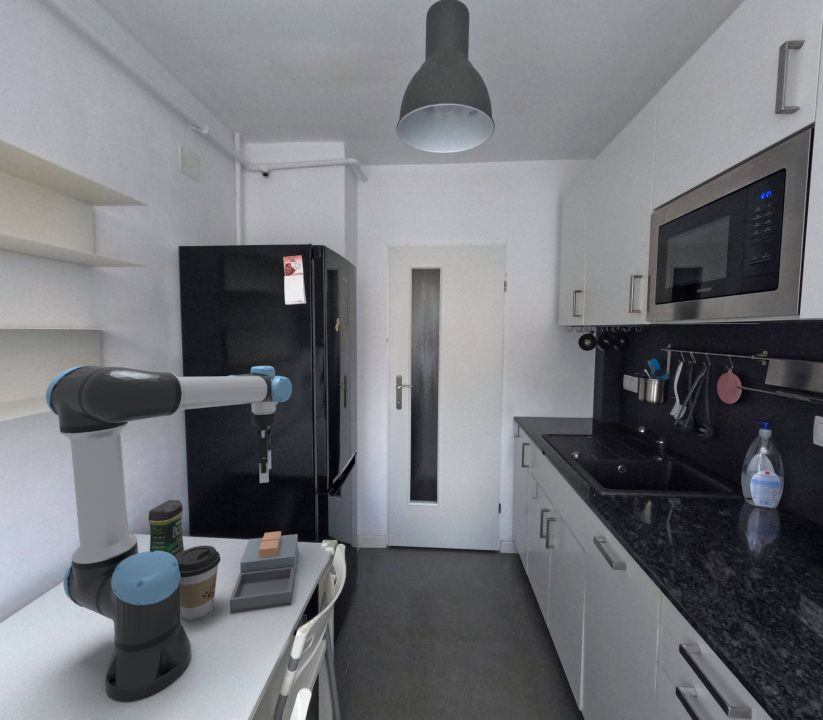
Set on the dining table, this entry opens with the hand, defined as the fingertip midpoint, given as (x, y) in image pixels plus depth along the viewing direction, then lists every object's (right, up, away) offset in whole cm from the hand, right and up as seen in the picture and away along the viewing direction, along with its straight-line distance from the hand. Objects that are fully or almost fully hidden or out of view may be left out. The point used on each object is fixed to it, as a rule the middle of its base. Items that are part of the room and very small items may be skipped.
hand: (265, 475), depth 132 cm
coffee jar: (-29, -26, -6) cm, 40 cm away
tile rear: (+5, -19, -7) cm, 21 cm away
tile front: (+6, -20, -13) cm, 24 cm away
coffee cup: (-7, -27, -29) cm, 40 cm away
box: (+8, -26, -23) cm, 36 cm away
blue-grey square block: (+5, -26, -9) cm, 28 cm away
